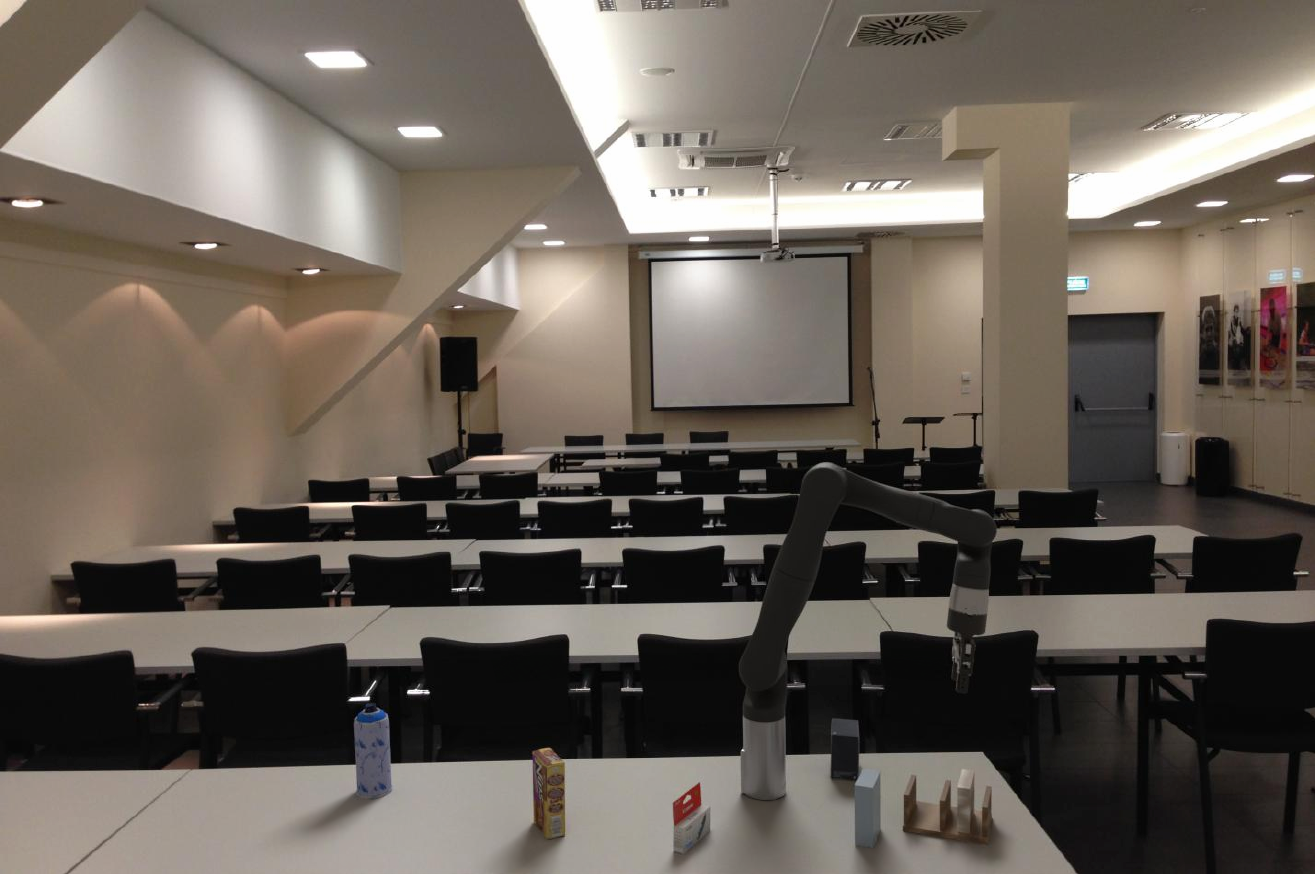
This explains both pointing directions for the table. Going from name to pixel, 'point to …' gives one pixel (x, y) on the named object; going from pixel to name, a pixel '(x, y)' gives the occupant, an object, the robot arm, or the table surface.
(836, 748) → the small box
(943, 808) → the rack
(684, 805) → the ink cartridge box
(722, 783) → the table surface
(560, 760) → the candy box
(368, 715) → the aerosol can
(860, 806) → the pale blue upright slab
